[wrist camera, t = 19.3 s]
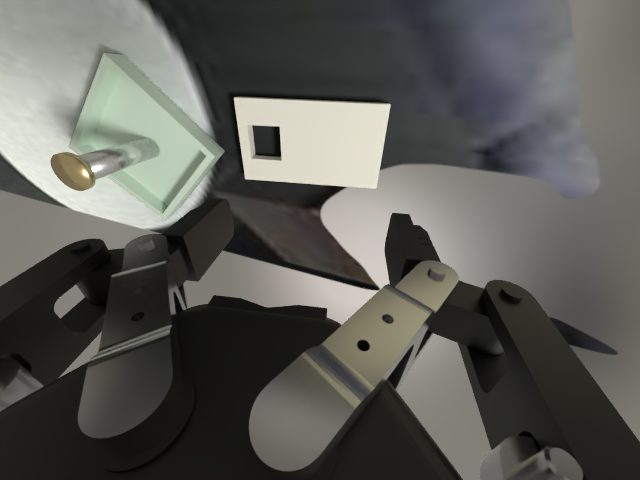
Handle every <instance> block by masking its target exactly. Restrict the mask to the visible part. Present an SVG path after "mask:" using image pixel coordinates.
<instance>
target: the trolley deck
mask: <svg viewBox="0 0 640 480" xmlns="http://www.w3.org/2000/svg"><path fill="white" fill-rule="evenodd" d="M234 104H235V111H236V118H237V125H238V132H239V139H240V146H241V153H242V160H243V167H244V174H245V179H252V180H265V181H279V182H292V183H306V184H319V185H333V186H346V187H360V188H374V189H376V188H377V182H378V176H379V170H380V164H381V158H382V152H383V146H384V140H385V134H386V128H387V122H388V116H389V110H390V104H389V103H372V102H350V101H328V100H306V99H283V98H261V97H234ZM252 125H260V126H278V127H280V141H281V157H272V156H257V155H255V147H254V138H253V129H252Z"/></svg>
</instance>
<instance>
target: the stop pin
mask: <svg viewBox="0 0 640 480" xmlns="http://www.w3.org/2000/svg"><path fill="white" fill-rule="evenodd" d="M159 154H160V149H159V146H158V145H157V143H156V142H155V141H154V140H152V139H150V138H143V139H139V140H135V141H131V142H128V143H124V144H120V145H116V146H112V147H109V148H105V149H101V150H97V151H93V152H89V153H86V154H82V155H78V156H77V155H75V154H72V153H69V152H63V153H59V154H55V155H53V156H52V158H51V166H52V169H53V171H54V173H55V174H56V176H57V177H58V178H59V179H60V180H61V181H62V182H63V183H64V184H65V185H67V186H68V187H70V188H72V189H75V190H78V191H84V190H87V189H89V188H91V187H93V186H94V184H95V180H96V179H98V178H101V177H104V176H106V175H109V174H112V173H115V172H117V171H120V170H123V169H125V168H128V167H131V166H134V165H136V164H139V163H142V162H144V161H147V160H150V159H153V158H155V157H158V156H159Z"/></svg>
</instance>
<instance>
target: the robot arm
mask: <svg viewBox="0 0 640 480" xmlns="http://www.w3.org/2000/svg"><path fill="white" fill-rule="evenodd" d="M233 233H234V225H233V220H232V215H231V210H230V205H229V202H228V200H227V199H220V198H210V199H208V200H207V201H206V202H205V203H203V204H202V205H201V206H200V207H198V208H195V209H193V210H191V211H189V212H188V213H187V214H186V215H184V217H182V218H181V219H179V220H178V222H176V223H174V224H173V225H172V226H171V227H169V228H168V229H167V230H166V231H165V232H163V233H162V234H149V235H144V236H141V237H138V238H136V239H134V240H132V241H130V242H129V243H128V244H127V245H126V246H125V248H123V249H113V250H108V249H107V247H106V245H105V243H104V242H103V241H102V240H100V239H86V240H81V241H77V242H74V243H72V244H69V245H67V246H65V247H63V248H62V249H60V250H58V251H57V252H55V253H54V254H52V255H50V256H49V257H47V258H46V259H44V260H42V261H41V262H39V263H37V264H36V265H34V266H33V267H31V268H29V269H28V270H26V271H25V272H23V273H21V274H20V275H18V276H17V277H15V278H13V279H12V280H10V281H8V282H7V283H5V284H4V285H2V286H0V480H463V479H462V478H461V476H460V475H459V474H458V472H457V471H456V469H455V468H454V467H453V465H452V464H451V463H450V462H449V460H448V459H447V457H446V456H445V455H444V453H443V452H442V451H441V450H440V448H439V447H438V446H437V444H436V443H435V442H434V440H433V439H432V438H431V436H430V435H429V434H428V432H427V431H426V430H425V428H424V427H423V426H422V424H421V423H420V422H419V420H418V419H417V418H416V416H415V415H414V414H413V412H412V411H411V410H410V408H409V407H408V406H407V404H406V403H405V402H404V401H403V399H402V398H401V396H400V395H399V394H398V392H397V391H398V389H399V388H400V386H401V385H402V383H403V381H404V380H405V378H406V376H407V374H408V372H409V371H410V368H411V367H412V366H413V364H414V363H415V361H416V360H417V358H418V356H419V355H420V354H421V352H422V351H423V349H424V348H425V346H426V345H427V343H428V342H429V340H430V339H431V337H432V336H433V334H437V335H440V336H442V337H445V338H447V339H450V340H452V341H455V342H457V343H458V345H459V348H460V351H461V354H462V358H463V361H464V364H465V367H466V370H467V374H468V377H469V380H470V383H471V386H472V389H473V393H474V396H475V399H476V402H477V405H478V408H479V412H480V415H481V418H482V421H483V424H484V427H485V430H486V434H487V437H488V440H489V443H490V446H491V449H492V451H491V452H490V453H488V454H487V455H486V456H485V457H484V458H483V460H482V462H481V466H480V478H481V480H640V442H639V440H638V439H637V438H636V436H635V435H634V434H633V432H632V431H631V429H630V428H629V427H628V426H627V424H626V423H625V421H624V420H623V418H622V417H621V416H620V415H619V413H618V412H617V410H616V409H615V408H614V406H613V405H612V403H611V402H610V401H609V399H608V398H607V397H606V395H605V394H604V392H603V391H602V390H601V388H600V387H599V386H598V384H597V383H596V381H595V380H594V379H593V377H592V376H591V375H590V373H589V372H588V371H587V369H586V368H585V366H584V365H583V364H582V362H581V361H580V360H579V358H578V357H577V355H576V354H575V353H574V352H573V350H572V349H571V347H570V346H569V344H568V343H567V342H566V340H565V339H564V338H563V336H562V335H561V334H560V332H559V331H558V329H557V328H556V327H555V325H554V324H553V323H552V321H551V320H550V318H549V317H548V316H547V314H546V313H545V312H544V310H543V309H542V307H541V306H540V305H539V303H538V302H537V301H536V299H535V298H534V297H533V296H532V295H531V294H530V293H529V292H528V291H526V290H525V289H523V288H522V287H520V286H518V285H516V284H513V283H511V282H507V281H503V280H493V281H490V282H488V283H487V285H486V287H485V288H484V289H483V288H480V287H477V286H473V285H470V284H467V283H464V282H462V281H459V277H458V274H457V273H456V272H455V271H454V270H453V269H452V268H451V267H449V266H448V265H446V264H444V263H441V261H440V259H439V257H438V255H437V253H436V250H435V248H434V246H433V244H432V242H431V240H430V237H429V235H428V233H427V231H425V230H424V229H423V228H422V227H421V226H418V225H413V223H412V220H411V217H410V215H409V214H399V213H392V215H391V219H390V223H389V228H388V233H387V237H386V242H385V257H386V263H387V269H388V275H389V281H390V285H389V284H388V285H385V286H384V287H383V288H382V289H381V290H380V291H379V292H377V293H376V294H375V295H374V296H373V297H372V298H371V299H370V300H369V301H368V302H367V303H365V304H364V305H363V306H362V307H361V308H360V309H359V310H358V311H357V312H356V313H355V314H354V315H352V316H351V317H350V318H349V319H348V320H347V321H346V322H345V323H344V324H343V325H341V324H340V323H338V322H336V321H334V320H332V319H329V318H327V308H319V307H310V306H302V305H294V306H284V307H272V308H267V307H263V306H260V305H258V304H255V303H252V302H250V301H247V300H244V299H241V298H233V297H225V296H216V295H214V296H213V298H212V299H211V301H210V302H209V304H204V305H198V306H195V307H191V308H189V305H188V299H187V294H186V289H185V286H184V282H185V281H186V280H189V281H199V280H200V279H201V277H202V276H203V275H204V273H205V272H206V271H207V270H208V268H209V267H210V266H211V264H212V263H213V262H214V261H215V259H216V258H217V257H218V255H219V254H220V253H221V251H222V250H223V249H224V248H225V246H226V245H227V244H228V242H229V241H230V240H231V239H232V237H233ZM74 285H77V286H78V287H79V289H80V290H81V292H82V293H83V295H84V296H85V298H84V299H83V300H82V301H80V302H79V303H78V304H77V305H76V306H75V307H73V308H72V309H71V310H70V311H69V312H68V313H67V314H65V315H64V316H63V317H62V318H61V319H60V318H59V317H58V316H57V315H56V314H55V312H54V304H55V302H56V301H57V299H58V298H59V297H60V296H62V295H63V294H64V293H65V292H67V291H68V290H69V289H71V288H72V287H73V286H74ZM101 331H102V334H101V341H100V346H99V351H98V353H97V355H95V356H93V357H92V358H91V359H90V361H89V362H88V363H86V364H84V365H82V366H80V367H79V368H77V369H75V370H73V371H71V372H69V373H67V374H66V375H64V376H62V377H60V375H61V374H62V373H63V372H64V371H65V370H66V369H67V368H68V367H69V366H70V365H71V364H72V362H74V360H75V359H76V358H77V357H78V356H79V355H80V354H81V353H82V352H83V351H84V350H85V348H87V346H88V345H89V344H90V343H91V342H92V341H93V340H94V339H95V338H96V337H97V336H98V334H99V333H100V332H101ZM59 377H60V378H59Z"/></svg>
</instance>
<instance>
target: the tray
mask: <svg viewBox="0 0 640 480" xmlns="http://www.w3.org/2000/svg"><path fill="white" fill-rule="evenodd" d="M143 138H150V139H152V140H154V141H155V142H156V143H157V145H158V146H159V149H160V154H159V156H158V157H155V158H153V159H150V160H147V161H144V162H142V163H139V164H136V165H134V166H131V167H128V168H125V169H123V170H120V171H117V172H115V173H112V174H109V175H106V176H107V177H109V178H110V179H111V180H112V181H114V182H115V183H116V184H118V185H119V186H120V187H122V188H123V189H124V190H126V191H127V192H128V193H129V194H131V195H132V196H133V197H135V198H136V199H137V200H139V201H140V202H141V203H143V204H144V205H145V206H147V207H148V208H149V209H150V210H152V211H153V212H154V213H156V214H157V215H158V216H160V217H161V218H162V219H164V220H166V219H168V218H169V217H170V216H172V215H173V214H174V213H176V212H177V211H178V209H179V208H180V207H181V206H182V204H183V203H184V202H185V201H186V199H187V198H188V197H189V195H190V194H191V193H192V192H193V190H194V189H195V188H196V187H197V185H198V184H199V183H200V182H201V180H202V179H203V178H204V177H205V175H206V174H207V173H208V172H209V170H210V169H211V168H212V167H213V165H214V164H215V163H216V162H217V160H218V159H219V158H220V157H221V155H222V154H223V153H224V152H225V151H224V150H223V149H222V148H221V147H220V146H219V145H218V144H217V143H216V142H215V141H214V140H213V139H212V138H211V137H210V136H209V135H208V134H206V133H205V132H204V131H203V130H202V129H201V128H200V127H199V126H198V125H197V124H196V123H195V122H194V121H193V120H192V119H191V118H190V117H189V116H188V115H187V114H186V113H185V112H183V111H182V110H181V109H180V108H179V107H178V106H177V105H176V104H175V103H174V102H173V101H172V100H171V99H170V98H169V97H168V96H167V95H166V94H165V93H164V92H163V91H162V90H160V89H159V88H158V87H157V86H156V85H155V84H154V83H153V82H152V81H151V80H150V79H149V78H148V77H147V76H146V75H145V74H144V73H143V72H142V71H141V70H140V69H139V68H137V67H136V66H135V65H134V64H133V63H132V62H131V61H130V60H129V59H128V58H127V57H126V56H125V55H122V54H112V53H103V55H102V58H101V61H100V63H99V66H98V69H97V72H96V74H95V77H94V80H93V82H92V85H91V88H90V90H89V93H88V96H87V98H86V101H85V104H84V106H83V109H82V112H81V114H80V117H79V120H78V122H77V125H76V128H75V130H74V133H73V136H72V138H71V141H70V144H69V148H71V149H72V150H73V151H74V152H76V153H77V154H78V155H82V154H86V153H89V152H93V151H97V150H101V149H105V148H109V147H112V146H116V145H120V144H124V143H128V142H131V141H135V140H139V139H143Z"/></svg>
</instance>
